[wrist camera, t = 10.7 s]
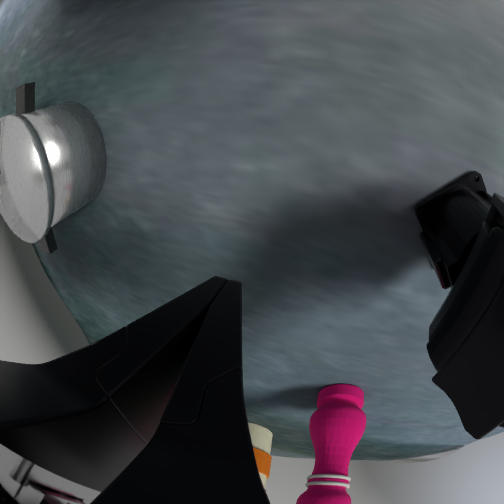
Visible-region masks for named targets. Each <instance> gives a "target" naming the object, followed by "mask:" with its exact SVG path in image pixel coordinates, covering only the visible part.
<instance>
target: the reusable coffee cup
mask: <svg viewBox="0 0 504 504" xmlns="http://www.w3.org/2000/svg"><path fill="white" fill-rule="evenodd" d="M248 425H249V430H250V435H251V440H252V445H253V450H254V454H255V459H256V463H257V467H258V471H259V474H260V478H261V481H262V483H263V486H264V489H265V484H266V479H267V478H269V473H270V466H271V459H272V457H271V456H270V450H271V443H272V433H271V432H270V431H269V430H268V429H266V428H264V427H262V426H259V425H256V424H252V423H248ZM265 491H266V490H265Z"/></svg>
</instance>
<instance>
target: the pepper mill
mask: <svg viewBox="0 0 504 504" xmlns="http://www.w3.org/2000/svg"><path fill="white" fill-rule="evenodd" d="M363 403H364V393H363V391H362V390H361V389H360V388H359V387H357V386H354V385H349V384H335V385H330V386H327V387H325V388H323V389H322V390H321V391H320V392H319V393H318V398H317V407H318V409H317V410H316V411H315V412H314V413H313V414H312V416H311V418H310V425H309V428H310V436H311V439H312V442H313V446H314V450H315V466H314V470H313V472H312V475H310V476H308V477H307V480H308V481H307V482H308V483H306V487H308V489H307V491H305V492H304V493H303V494H301V495H300V496H299V498H298V499H297V503H296V504H351V498H350V496H349V495H348V494H347V492H346V489H348V488H349V487H350V485H349V481H350V480H351V478H350V477H348V466H349V462H350V458H351V455H352V452H353V450H354V449H355V447H356V445H357V443H358V442H359V440H360V438H361V437H362V435H363V432H364V430H365V426H366V415H365V413H364V412H363V411H362V410H361V408H362V407H363Z"/></svg>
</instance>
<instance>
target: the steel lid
mask: <svg viewBox="0 0 504 504" xmlns="http://www.w3.org/2000/svg"><path fill="white" fill-rule="evenodd" d="M0 213H1V215H2V216H3V218H4V220H5V222H6V223H7V224H8V226H9V227H10V229H11V230H12V231H13V232H14V233H15V234H16V235H17V236H18V237H19V238H20V239H22V240H24V241H25V242H28V243H35V242H37V241H38V240H40V239H41V238H42V237H44V236H45V235H46V234H47V233H48V232H49V230H50V228H51V225H52V222H53V216H54V192H53V184H52V178H51V172H50V168H49V164H48V160H47V156H46V153H45V150H44V147H43V145H42V142H41V140H40V137H39V135H38V133H37V131H36V130H35V128H34V126H33V125H32V124H31V122H30V121H29V120H28V119H27V118H26V117H24V116H23V115H21V114H17V113H14V114H10V115H7V116H4V117H2V118H1V119H0Z"/></svg>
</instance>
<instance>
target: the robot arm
mask: <svg viewBox="0 0 504 504" xmlns="http://www.w3.org/2000/svg"><path fill="white" fill-rule="evenodd" d="M476 176H477V180H476V181H475V177H476ZM420 209H423V212H422V213H419V210H420ZM415 214H416V216H417V218H418V220H419V222H420V225H421V227H422V229H423V231H422V232H421V233H420V238H421V240H422V243H423V245H424V247H425V250H426V252H427V255H428V257H429V260H430V262H431V264H432V266H433V268H434V270H435V272H436V275H437V277H438V279H439V281H440V284H441V286H442V288H444V289H447V288H449V287H451V291H450V292H449V294H448V296H447V298H446V299H445V301H444V303H443V304H442V306H441V308H440V309H439V311H438V313H437V314H436V316H435V317H434V319H433V321H432V323H431V325H430V327H429V342H428V343H427V350H428V353H429V357H430V359H431V361H432V363H433V365H434V367H435V369H436V370H437V373H436V374H435V376H434V377H433V378H432V381H433V382H434V383H435V384H436V385H437V386H438V387H439V388H441V389H442V390H443V391H444V392H445V393H446V394H447V395H448V397H449V398H450V399H451V401H452V402H453V403H454V405H455V407H456V409H457V411H458V414H459V416H460V419H461V421H462V423H463V426H464V428H465V430H466V431H467V432H468V433H469V434H470V435H472V436H473V437H474V438H475V439H481V438H482V437H484V436H485V435H487V434H488V433H489V432H491V431H492V430H494V429H495V428H496V427H498V426H499V427H502V428H504V197H502V196H500V195H498V194H496V193H494V194H493V197H492V196H491V195H489V194H488V193H487V191H486V188H485V185H484V182H483V179H482V176H481V174H480V173H478V172H477V171H473V172H472V173H470V174H468V175H467V176H465V177H463V178H462V179H460V180H458V181H457V182H455V183H453V184H452V185H450V186H448V187H447V188H445V189H443V190H442V191H440V192H438V193H436V194H435V195H433V196H431V197H430V198H428V199H426V200H424V201H423V202H421V203H419V204H418V205H416V207H415ZM0 504H270V502H269V499H268V496H267V494H266V491H265V489H264V486H263V483H262V481H261V478H260V474H259V471H258V467H257V463H256V459H255V454H254V450H253V445H252V440H251V435H250V430H249V425H248V420H247V415H246V409H245V402H244V393H243V369H242V284H241V282H238V281H234V280H227V279H226V278H222V277H218V276H214V277H212V278H211V279H209V280H207V281H205V282H204V283H202V284H200V285H198V286H196V287H195V288H193V289H191V290H189V291H187V292H186V293H184V294H182V295H180V296H179V297H177V298H175V299H173V300H171V301H170V302H168V303H166V304H164V305H163V306H161V307H159V308H157V309H155V310H154V311H152V312H150V313H148V314H146V315H145V316H143V317H141V318H139V319H137V320H136V321H134V322H132V323H130V324H129V325H127V327H123V328H121V329H119V330H118V331H116V332H114V333H112V334H110V335H108V336H106V337H104V338H102V339H101V340H98V341H96V342H94V343H92V344H90V345H88V346H85V347H83V348H81V349H78V350H76V351H74V352H71V353H69V354H67V355H64V356H62V357H59V358H57V359H55V360H52V361H49V362H46V363H42V364H22V363H15V362H7V361H1V360H0Z"/></svg>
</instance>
